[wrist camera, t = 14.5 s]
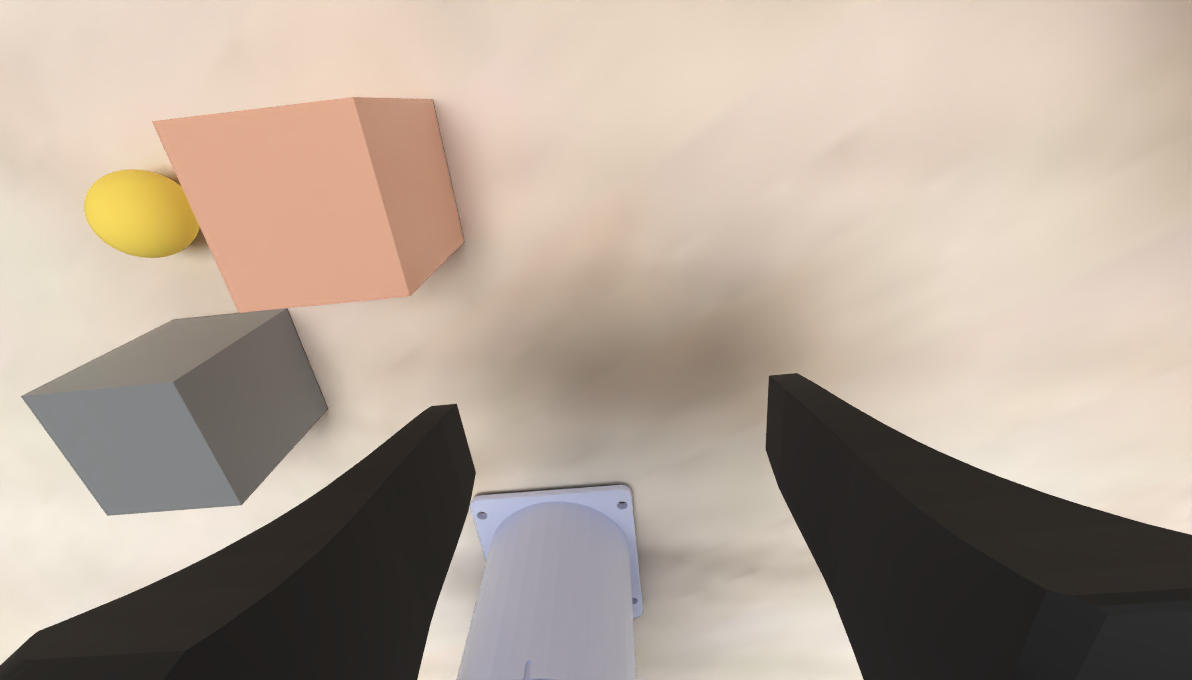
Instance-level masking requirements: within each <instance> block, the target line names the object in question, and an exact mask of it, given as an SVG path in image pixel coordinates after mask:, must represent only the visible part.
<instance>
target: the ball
mask: <svg viewBox="0 0 1192 680" xmlns="http://www.w3.org/2000/svg"><path fill="white" fill-rule="evenodd" d="M84 211H85V216H86V219H87V221H88V223H89V225H90V227H91V228H92V230H93V231H94V232H95V233H96V235H97V236H98V237H99V238H100V239H101V240H103V241H104V242H105V243H107V244H108V245H110V246H111V247H113V248H115V249H117V250H119V251H121V252H124V253H127V254H130V255H134V256H139V257H146V258H158V257H165V256H169V255H173V254H176V253H178V252H180V251H182V250H184V249H185V248H186V247H188V246H189V245H190V244H191V243H192V242H193V240H194V239H195V238H196V236H197V234H198V231H199V228H200V226H199V224H198V222H197V220H196V217H195V215H194V213H193V211H192V208H191V206H190V204H189V202H188V200H187V197H186V195H185V193H184V191H183V189H182V187H181V186H180V185H179V184H177V183H176V182H174V181H173V180H171V179H169V178H167V177H165V176H162V175H160V174H157V173H154V172H149V171H145V170H121V171H116V172H113V173H110V174H107V175H105V176H103V177H102V178H100V179H99V180H97V181H96V182H95V183H94V184H93V185H92V186H91V187H90V189H89V190H88V192H87V195H86V197H85V201H84Z"/></svg>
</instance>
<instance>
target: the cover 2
mask: <svg viewBox="0 0 1192 680" xmlns="http://www.w3.org/2000/svg"><path fill="white" fill-rule="evenodd" d="M21 397H22V398H23V400H24V401H25V402H26V404H27V405H28V406H29V408H30V409H31V411H32V412H33V413H34V415H35V416H36V418H37V419H38V420H39V422H40V423H41V424H42V426H43V427H44V429H45V430H46V431H47V433H48V434H49V436H50V437H51V438H52V440H53V441H54V442H55V444H56V445H57V447H58V448H59V449H60V451H61V452H62V454H63V455H64V456H65V458H66V459H67V460H68V462H69V463H70V465H71V466H72V467H73V469H74V470H75V472H76V473H77V474H78V476H79V477H80V478H81V480H82V481H83V483H84V484H85V485H86V487H87V488H88V490H89V491H90V492H91V494H92V495H93V496H94V498H95V499H96V501H97V502H98V503H99V505H100V506H101V508H102V509H103V510H104V512H105V513H106V514H107V516H108V515H121V514H134V513H147V512H160V511H173V510H186V509H198V508H211V507H224V506H237V505H242V504H243V503H244V502H245V501H246V500H247V498H248V497H249V496H250V495H251V494H252V493H253V492H254V491H255V490H256V488H257V487H258V486H259V485H260V484H261V483H262V482H263V481H264V480H265V478H266V477H267V476H268V475H269V474H270V473H271V472H272V471H273V470H274V468H275V467H276V466H277V465H278V464H279V463H280V462H281V461H282V460H283V458H284V457H285V456H286V455H287V454H288V453H289V452H290V451H291V450H292V448H293V447H294V446H295V445H296V444H297V443H298V442H299V441H300V439H301V438H302V437H303V436H304V435H305V434H306V433H307V432H308V431H309V429H310V428H311V427H312V426H313V425H314V424H315V423H316V422H317V421H318V419H319V418H320V417H321V416H322V415H323V414H324V413H325V412H326V411H327V409H328V408H327V405H326V403H325V400H324V398H323V396H322V393H321V391H320V388H319V386H318V383H317V381H316V379H315V376H314V374H313V371H312V369H311V366H310V364H309V362H308V359H307V357H306V354H305V352H304V349H303V347H302V344H301V342H300V340H299V337H298V335H297V332H296V330H295V327H294V325H293V323H292V320H291V318H290V315H289V313H288V310H287V308H284V309H275V310H265V311H255V312H245V313H235V314H225V315H215V316H205V317H195V318H186V319H176V320H171V321H170V322H168V323H166V324H164V325H162V326H160V327H158V328H156V329H154V330H152V331H150V332H148V333H146V334H144V335H142V336H140V337H138V338H136V339H134V340H132V341H130V342H128V343H126V344H124V345H122V346H120V347H118V348H116V349H114V350H112V351H110V352H108V353H106V354H104V355H102V356H100V357H98V358H96V359H94V360H92V361H90V362H88V363H86V364H84V365H82V366H80V367H78V368H76V369H74V370H72V371H70V372H68V373H66V374H64V375H62V376H60V377H58V378H56V379H54V380H52V381H50V382H48V383H46V384H44V385H42V386H40V387H38V388H36V389H34V390H32V391H30V392H28V393H26V394H25V395H23V396H21Z"/></svg>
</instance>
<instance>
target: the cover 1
mask: <svg viewBox="0 0 1192 680" xmlns="http://www.w3.org/2000/svg"><path fill="white" fill-rule="evenodd" d="M152 122H153V125H154V127H155V129H156V131H157V133H158V136H159V138H160V140H161V142H162V144H163V147H164V149H165V151H166V153H167V156H168V158H169V160H170V162H171V164H172V167H173V169H174V171H175V173H176V175H177V178H178V180H179V182H180V184H181V186H182V189H183V191H184V193H185V195H186V197H187V200H188V202H189V204H190V206H191V208H192V211H193V213H194V215H195V217H196V220H197V222H198V224H199V226H200V228H201V231H202V233H203V235H204V237H205V239H206V242H207V244H208V246H209V248H210V250H211V253H212V255H213V257H214V259H215V261H216V264H217V266H218V268H219V270H220V272H221V275H222V277H223V279H224V281H225V284H226V286H227V288H228V290H229V292H230V295H231V297H232V299H233V301H234V303H235V306H236V308H237V310H238V312H239V313H242V312H252V311H262V310H273V309H283V308H294V307H304V306H314V305H325V304H335V303H345V302H356V301H366V300H376V299H387V298H397V297H408V296H411V295H412V294H413V293H414V292H415V291H416V290H417V289H418V288H419V287H420V286H421V285H422V284H423V283H424V282H425V281H426V280H427V279H428V278H429V277H430V276H431V275H432V274H433V273H434V272H435V271H436V270H437V269H438V268H439V267H440V266H441V265H442V264H443V263H444V262H445V261H446V260H447V259H448V258H449V257H450V256H451V255H452V254H453V253H454V252H455V251H456V250H457V249H458V248H459V247H460V246H461V245H462V244H463V243H464V238H463V233H462V229H461V225H460V220H459V216H458V211H457V207H456V202H455V198H454V193H453V189H452V184H451V180H450V175H449V171H448V166H447V162H446V157H445V153H444V148H443V144H442V139H441V135H440V130H439V126H438V122H437V117H436V113H435V108H434V104H433V99H400V98H360V97H352V98H343V99H335V100H327V101H318V102H310V103H302V104H293V105H285V106H277V107H268V108H260V109H252V110H244V111H235V112H227V113H219V114H210V115H202V116H194V117H185V118H177V119H169V120H160V121H152Z"/></svg>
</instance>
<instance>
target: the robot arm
mask: <svg viewBox="0 0 1192 680" xmlns="http://www.w3.org/2000/svg"><path fill="white" fill-rule="evenodd" d="M766 452H767V455H768V458H769V461H770V464H771V467H772V470H773V473H774V475H775V478H776V481H777V484H778V487H779V489H780V491H781V493H782V495H783V497H784V499H785V501H786V503H787V505H788V507H789V509H790V511H791V513H792V515H793V517H794V519H795V521H796V523H797V525H798V527H799V529H800V531H801V533H802V535H803V537H804V539H805V541H806V543H807V545H808V547H809V549H810V551H811V553H812V555H813V557H814V559H815V561H816V563H817V565H818V567H819V569H820V571H821V573H822V575H823V577H824V579H825V581H826V584H827V586H828V588H829V590H830V592H831V595H832V597H833V599H834V602H835V604H836V607H837V610H838V612H839V615H840V617H841V620H842V623H843V625H844V628H845V630H846V633H847V636H848V638H849V641H850V643H851V646H852V649H853V652H854V654H855V657H856V660H857V663H858V665H859V668H860V671H861V674H862V676H863V679H864V680H1192V535H1189V534H1185V533H1181V532H1177V531H1173V530H1169V529H1165V528H1161V527H1157V526H1153V525H1149V524H1145V523H1141V522H1138V521H1134V520H1131V519H1127V518H1124V517H1121V516H1117V515H1114V514H1110V513H1107V512H1104V511H1100V510H1097V509H1093V508H1090V507H1087V506H1083V505H1080V504H1077V503H1074V502H1071V501H1068V500H1064V499H1061V498H1058V497H1055V496H1052V495H1049V494H1046V493H1043V492H1040V491H1038V490H1035V489H1032V488H1029V487H1026V486H1024V485H1021V484H1018V483H1015V482H1012V481H1010V480H1007V479H1004V478H1001V477H999V476H996V475H994V474H991V473H988V472H986V471H983V470H981V469H978V468H976V467H974V466H971V465H969V464H967V463H964V462H962V461H960V460H957V459H955V458H953V457H950V456H948V455H946V454H944V453H941V452H939V451H937V450H935V449H932V448H930V447H928V446H926V445H924V444H922V443H920V442H918V441H916V440H914V439H912V438H910V437H908V436H906V435H904V434H902V433H900V432H898V431H896V430H895V429H893V428H891V427H889V426H887V425H885V424H883V423H881V422H880V421H878V420H876V419H874V418H872V417H871V416H869V415H867V414H865V413H864V412H862V411H860V410H859V409H857V408H855V407H853V406H852V405H850V404H848V403H847V402H845V401H843V400H842V399H840V398H838V397H837V396H835V395H833V394H832V393H830V392H828V391H827V390H825V389H823V388H822V387H820V386H818V385H817V384H815V383H813V382H812V381H810V380H808V379H807V378H805V377H803V376H801V375H799V374H797V373H794V374H783V375H772V376H769V387H768V409H767V431H766ZM475 474H476V472H475V468H474V465H473V461H472V457H471V454H470V450H469V446H468V443H467V439H466V436H465V432H464V428H463V425H462V421H461V418H460V414H459V410H458V407H457V404H450V405H439V406H431V407H429V408H428V409H426V410H425V411H424V412H422V413H421V414H419V415H418V416H417V417H416V418H414V419H413V420H412V421H410V422H409V423H408V424H407V425H405V426H404V427H403V428H402V429H400V430H399V431H398V432H397V433H396V434H394V435H393V436H392V437H391V438H389V439H388V440H387V441H386V442H384V443H383V444H382V445H381V446H379V447H378V448H377V449H376V450H374V451H373V452H372V453H371V454H369V455H368V456H367V457H365V458H364V459H363V460H361V461H360V462H359V463H357V464H356V465H355V466H353V467H352V468H351V469H349V470H348V471H347V472H345V473H344V474H343V475H341V476H340V477H338V478H337V479H336V480H334V481H333V482H332V483H330V484H329V485H328V486H326V487H325V488H323V489H322V490H321V491H319V492H318V493H316V494H315V495H313V496H312V497H310V498H309V499H307V500H306V501H304V502H303V503H301V504H299V505H298V506H296V507H295V508H293V509H291V510H290V511H288V512H287V513H285V514H283V515H282V516H280V517H279V518H277V519H275V520H274V521H272V522H270V523H269V524H267V525H265V526H263V527H262V528H260V529H258V530H256V531H254V532H252V533H251V534H249V535H247V536H245V537H243V538H242V539H240V540H238V541H236V542H234V543H233V544H231V545H229V546H227V547H225V548H224V549H222V550H220V551H218V552H216V553H214V554H212V555H210V556H208V557H206V558H204V559H202V560H200V561H198V562H196V563H194V564H192V565H190V566H188V567H186V568H184V569H182V570H180V571H178V572H176V573H174V574H172V575H170V576H167V577H165V578H163V579H161V580H159V581H157V582H155V583H152V584H150V585H148V586H146V587H144V588H141V589H139V590H137V591H135V592H132V593H130V594H128V595H126V596H123V597H121V598H118V599H116V600H114V601H111V602H109V603H106V604H104V605H101V606H99V607H97V608H94V609H92V610H89V611H87V612H85V613H82V614H80V615H77V616H75V617H73V618H70V619H68V620H65V621H63V622H60V623H58V624H55V625H53V626H50V627H48V628H45V629H43V630H40V631H38V632H37V633H35V634H34V635H33V636H32V637H30V638H29V639H28V640H27V641H26V642H25V643H24V644H23V645H22V646H21V647H20V648H19V649H17V650H16V651H15V652H14V653H13V654H12V655H11V656H10V657H9V658H8V659H7V660H6V661H5V662H3V663H2V664H1V665H0V680H417V678H418V674H419V669H420V665H421V661H422V657H423V652H424V648H425V644H426V640H427V636H428V632H429V627H430V623H431V620H432V617H433V613H434V610H435V607H436V604H437V601H438V598H439V595H440V592H441V589H442V586H443V583H444V580H445V578H446V575H447V572H448V569H449V566H450V563H451V560H452V558H453V555H454V552H455V549H456V546H457V543H458V540H459V537H460V534H461V531H462V529H463V526H464V523H465V520H466V517H467V513H468V510H469V505H470V500H471V496H472V490H473V485H474V479H475ZM621 501H623V502H625V503H623V504H621V503H619V502H621ZM470 508H471V512H472V515H473V519H474V522H475V526H476V529H477V533H478V536H479V539H480V543H481V546H482V550H483V553H484V557H485V560H486V565H485V569H484V573H483V577H482V581H481V585H480V589H479V593H478V597H477V601H476V605H475V609H474V613H473V617H472V620H471V624H470V628H469V632H468V636H467V640H466V644H465V648H464V652H463V656H462V660H461V664H460V668H459V672H458V676H457V680H637V675H636V658H635V641H634V625H633V618H638V617H640V616H641V615H642V614H643V604H642V594H641V584H640V574H639V564H638V554H637V544H636V534H635V524H634V515H633V505H632V495H631V490H630V488H629V487H627V486H625V485H611V486H598V487H585V488H572V489H558V490H545V491H532V492H519V493H505V494H492V495H479V496H476V497H474V498H473V500H472V502H471V505H470ZM481 512H485V513H486V514H483V513H481Z"/></svg>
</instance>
